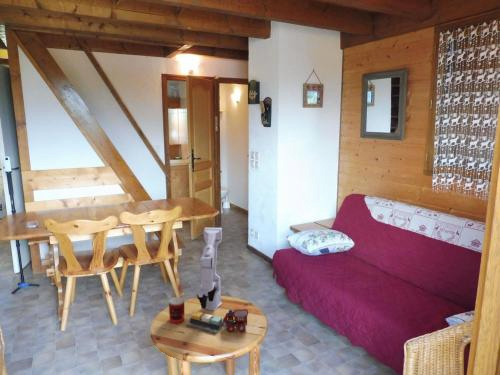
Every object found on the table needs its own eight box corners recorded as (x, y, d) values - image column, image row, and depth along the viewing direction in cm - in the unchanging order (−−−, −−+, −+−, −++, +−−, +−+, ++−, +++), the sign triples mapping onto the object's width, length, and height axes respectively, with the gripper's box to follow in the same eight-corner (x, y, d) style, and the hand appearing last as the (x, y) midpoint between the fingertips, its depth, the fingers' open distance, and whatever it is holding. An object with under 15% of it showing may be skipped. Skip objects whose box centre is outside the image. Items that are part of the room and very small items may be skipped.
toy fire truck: (222, 325, 192) (222, 306, 190) (247, 324, 193) (247, 305, 191) (223, 333, 185) (223, 313, 183) (248, 332, 186) (248, 312, 185)
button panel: (198, 315, 201) (198, 310, 201) (227, 322, 195) (227, 317, 194) (186, 326, 191) (186, 321, 190) (216, 334, 184) (216, 329, 183)
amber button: (196, 315, 197) (196, 311, 197) (203, 316, 195) (203, 313, 195) (192, 318, 193) (192, 315, 193) (198, 320, 192) (198, 316, 192)
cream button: (205, 317, 195) (205, 313, 195) (212, 319, 193) (212, 315, 193) (201, 321, 191) (201, 317, 191) (208, 322, 190) (208, 319, 189)
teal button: (215, 319, 193) (215, 316, 192) (222, 321, 191) (222, 317, 191) (211, 323, 189) (211, 319, 189) (218, 325, 188) (218, 321, 187)
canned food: (180, 314, 202) (179, 295, 200) (187, 321, 196) (187, 301, 194) (166, 319, 197) (166, 299, 195) (174, 325, 191) (173, 305, 189)
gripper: (207, 272, 199) (207, 296, 202) (192, 283, 186) (193, 309, 189) (219, 275, 197) (219, 299, 199) (205, 286, 184) (205, 312, 186)
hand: (207, 304), depth 194 cm, fingers open, 7 cm apart
